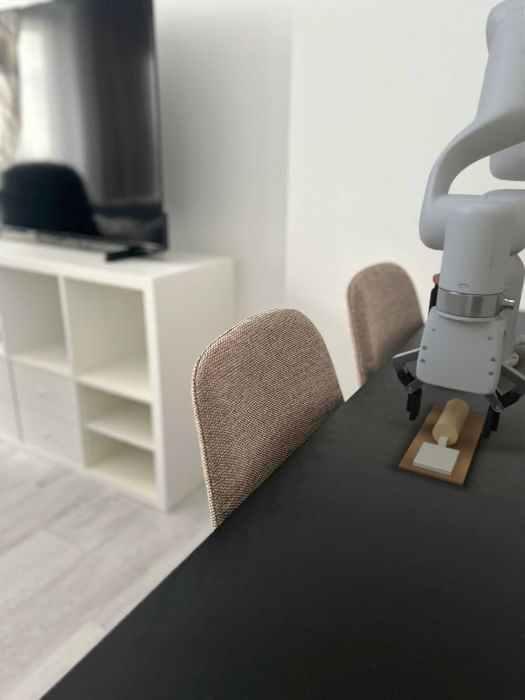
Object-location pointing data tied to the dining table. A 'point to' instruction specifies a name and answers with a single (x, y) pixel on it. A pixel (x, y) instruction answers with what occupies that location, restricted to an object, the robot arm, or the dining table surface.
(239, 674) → the dining table surface
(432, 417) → the wooden board
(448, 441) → the spatula
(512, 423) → the dining table surface
